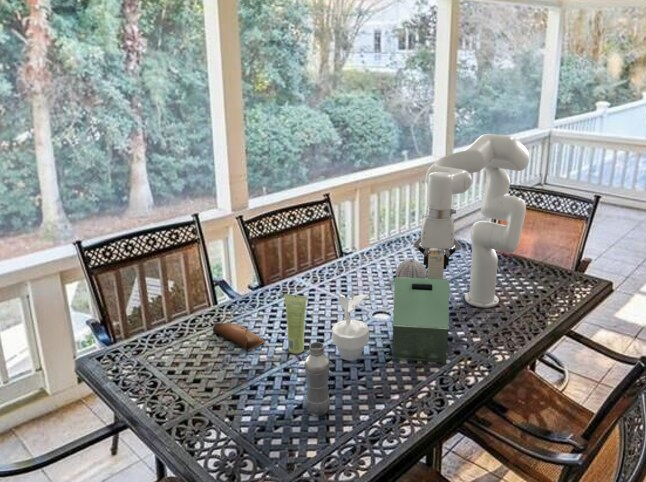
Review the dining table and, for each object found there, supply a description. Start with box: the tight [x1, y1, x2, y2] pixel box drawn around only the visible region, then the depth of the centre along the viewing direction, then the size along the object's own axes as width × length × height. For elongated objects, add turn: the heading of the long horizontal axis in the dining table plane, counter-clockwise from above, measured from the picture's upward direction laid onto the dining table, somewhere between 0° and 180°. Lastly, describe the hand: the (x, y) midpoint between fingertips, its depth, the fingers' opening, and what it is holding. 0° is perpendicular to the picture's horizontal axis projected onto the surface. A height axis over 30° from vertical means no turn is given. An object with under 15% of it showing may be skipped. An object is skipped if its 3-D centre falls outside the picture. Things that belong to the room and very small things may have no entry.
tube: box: [283, 293, 308, 355], centre depth 169 cm, size 6×5×20 cm
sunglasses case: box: [212, 322, 266, 352], centre depth 179 cm, size 18×7×7 cm
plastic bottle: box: [304, 341, 331, 417], centre depth 140 cm, size 6×7×20 cm
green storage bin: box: [391, 324, 449, 364], centre depth 170 cm, size 14×17×12 cm
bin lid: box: [392, 276, 451, 329], centre depth 161 cm, size 14×17×5 cm
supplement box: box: [427, 248, 445, 280], centre depth 170 cm, size 8×5×13 cm, turn 169°
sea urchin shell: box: [395, 259, 428, 279], centre depth 223 cm, size 13×14×8 cm
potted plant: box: [331, 290, 370, 362], centre depth 165 cm, size 13×12×25 cm
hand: (435, 266), depth 169 cm, fingers closed on supplement box, 5 cm apart
